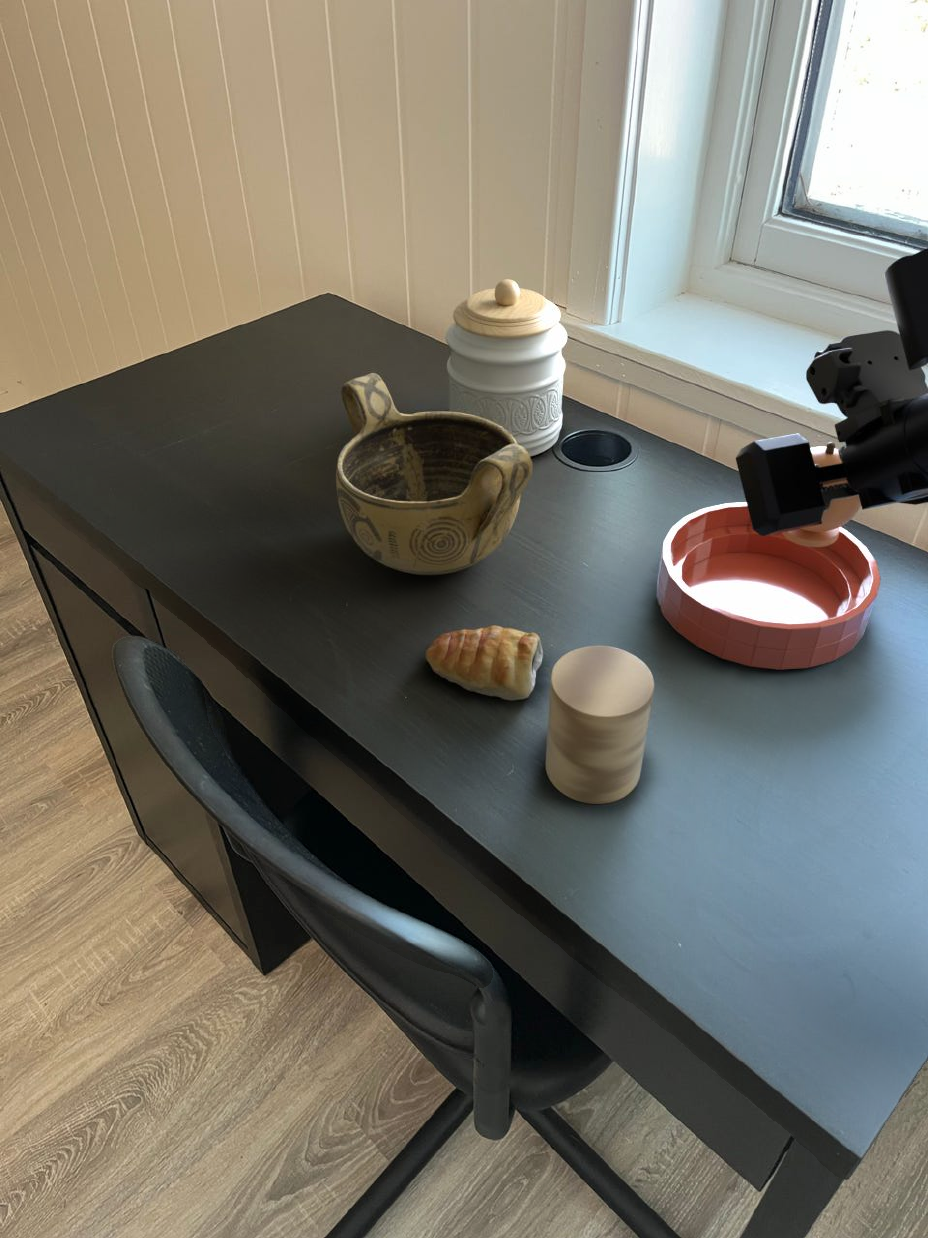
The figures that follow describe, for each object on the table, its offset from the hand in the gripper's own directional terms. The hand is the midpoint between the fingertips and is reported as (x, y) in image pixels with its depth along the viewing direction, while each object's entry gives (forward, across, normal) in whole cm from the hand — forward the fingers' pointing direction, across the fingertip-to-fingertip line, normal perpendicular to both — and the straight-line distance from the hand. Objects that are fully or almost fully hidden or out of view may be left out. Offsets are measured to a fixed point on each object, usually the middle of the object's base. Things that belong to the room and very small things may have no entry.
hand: (805, 495), depth 73 cm
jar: (+37, +11, -18) cm, 43 cm away
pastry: (+11, +25, +8) cm, 29 cm away
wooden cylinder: (+3, +21, +16) cm, 27 cm away
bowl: (+12, 0, +7) cm, 14 cm away
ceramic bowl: (+24, +25, -4) cm, 35 cm away
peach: (+1, 0, +3) cm, 3 cm away
